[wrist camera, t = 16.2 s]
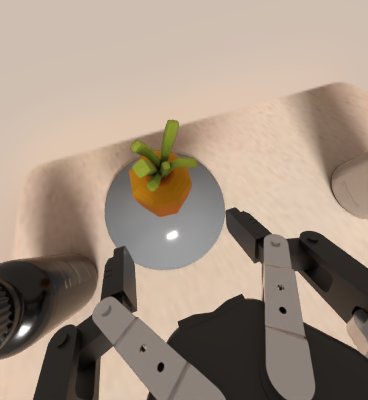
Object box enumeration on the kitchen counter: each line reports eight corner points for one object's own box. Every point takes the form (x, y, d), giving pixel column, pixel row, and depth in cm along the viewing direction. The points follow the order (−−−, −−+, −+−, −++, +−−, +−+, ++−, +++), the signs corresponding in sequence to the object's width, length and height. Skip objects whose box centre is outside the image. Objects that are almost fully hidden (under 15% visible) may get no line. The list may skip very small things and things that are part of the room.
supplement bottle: (42, 257, 22) (-109, 272, 10) (98, 249, 22) (18, 255, 11) (38, 319, 20) (-148, 422, 8) (99, 309, 21) (5, 392, 9)
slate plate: (198, 144, 27) (199, 140, 26) (240, 243, 24) (243, 243, 23) (95, 174, 25) (92, 171, 24) (125, 288, 21) (123, 290, 20)
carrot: (171, 183, 24) (166, 88, 10) (192, 212, 23) (221, 154, 9) (140, 203, 23) (83, 130, 9) (161, 233, 22) (136, 210, 8)
